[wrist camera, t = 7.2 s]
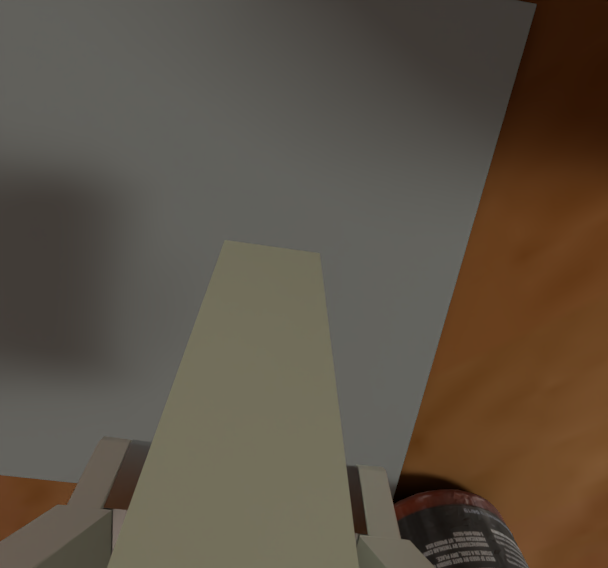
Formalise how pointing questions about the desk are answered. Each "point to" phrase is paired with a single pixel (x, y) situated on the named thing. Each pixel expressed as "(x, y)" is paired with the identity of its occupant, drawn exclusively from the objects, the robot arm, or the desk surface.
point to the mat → (233, 195)
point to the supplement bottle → (457, 530)
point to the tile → (248, 431)
